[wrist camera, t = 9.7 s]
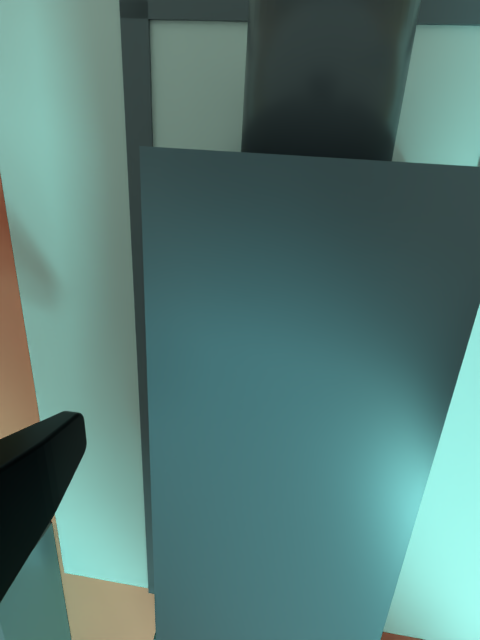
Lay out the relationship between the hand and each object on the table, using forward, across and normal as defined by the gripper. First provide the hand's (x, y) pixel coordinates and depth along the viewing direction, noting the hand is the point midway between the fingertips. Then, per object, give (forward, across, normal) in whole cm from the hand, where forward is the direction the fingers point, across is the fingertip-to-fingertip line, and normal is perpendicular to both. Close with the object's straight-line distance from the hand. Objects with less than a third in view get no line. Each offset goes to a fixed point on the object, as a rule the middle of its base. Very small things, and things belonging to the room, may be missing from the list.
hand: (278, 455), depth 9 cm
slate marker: (+3, 0, 0) cm, 3 cm away
